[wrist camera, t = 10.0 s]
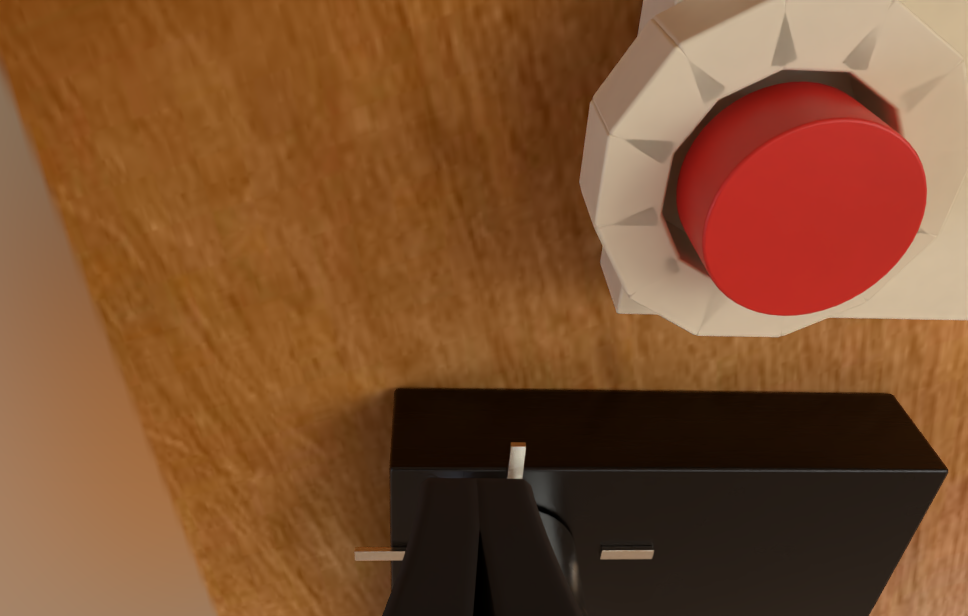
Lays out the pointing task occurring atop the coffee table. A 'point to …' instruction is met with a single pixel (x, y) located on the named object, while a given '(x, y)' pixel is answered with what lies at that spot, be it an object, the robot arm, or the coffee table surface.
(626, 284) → the igniter
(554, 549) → the stove knob
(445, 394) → the stove panel
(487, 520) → the robot arm
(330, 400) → the coffee table surface
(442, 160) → the coffee table surface
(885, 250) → the button
